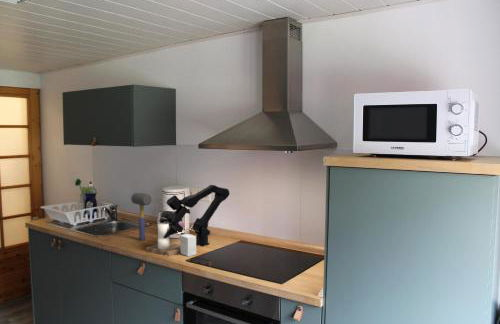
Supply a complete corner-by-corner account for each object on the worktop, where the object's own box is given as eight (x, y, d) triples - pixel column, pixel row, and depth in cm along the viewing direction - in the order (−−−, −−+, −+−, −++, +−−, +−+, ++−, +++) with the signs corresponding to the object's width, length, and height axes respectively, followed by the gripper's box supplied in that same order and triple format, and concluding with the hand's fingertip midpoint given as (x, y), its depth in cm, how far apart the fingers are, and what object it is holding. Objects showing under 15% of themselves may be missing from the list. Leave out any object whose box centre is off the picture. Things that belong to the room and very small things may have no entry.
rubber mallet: (153, 240, 255) (152, 193, 253) (143, 243, 249) (143, 194, 247) (140, 237, 262) (139, 191, 260) (131, 240, 256) (130, 192, 254)
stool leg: (170, 249, 233) (169, 222, 232) (169, 253, 227) (169, 225, 225) (158, 250, 232) (157, 222, 231) (157, 253, 226) (156, 225, 224)
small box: (196, 254, 224) (196, 236, 224) (187, 256, 221) (187, 237, 220) (188, 251, 230) (188, 233, 230) (180, 253, 227) (179, 235, 226)
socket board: (187, 249, 234) (187, 246, 234) (168, 256, 221) (168, 252, 221) (165, 245, 244) (165, 242, 244) (146, 251, 232) (146, 247, 231)
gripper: (161, 204, 237) (144, 225, 231) (177, 208, 223) (159, 231, 217) (173, 215, 243) (157, 237, 236) (190, 220, 229) (173, 243, 222)
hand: (161, 236), depth 228 cm, fingers closed on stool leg, 6 cm apart
